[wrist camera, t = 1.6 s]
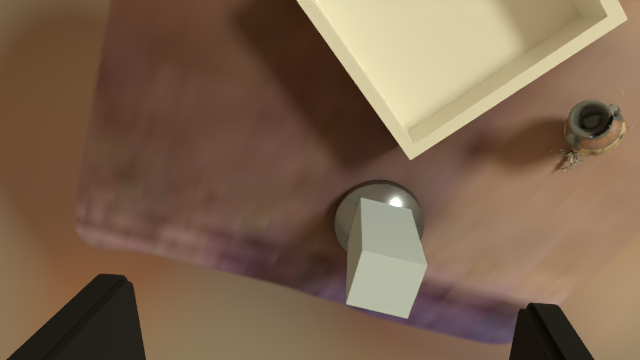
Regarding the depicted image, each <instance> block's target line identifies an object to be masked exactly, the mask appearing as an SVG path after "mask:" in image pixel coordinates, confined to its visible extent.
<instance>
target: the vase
mask: <svg viewBox="0 0 640 360" xmlns="http://www.w3.org/2000/svg"><path fill="white" fill-rule="evenodd" d="M613 86H614V85H613ZM621 94H622V93H621ZM623 95H624V92H623ZM551 96H552V95H551ZM620 112H621V111H620V108H619V107H618V106H617V105H615V104H610V105H607V104H606V103H604V102H601V101H599V100H586V101H583V102H581V103H579V104H577V105H576V106H575V107H574V108H573V109H572V110H571V112H570V113H569V117H568V118H567V120H566V122H565V126H564V137H565V140H566V142H567V143H568V145H569V146H570V147H571V148H572V149H573V151H574V153H572V151H571V152H570V153H568V154H567V155H566V156H568V159H567V160H568V161H567V162H566V163H568V162H569V163H571V165H570V167H565V166H564V167H565V168H560V169H562V170H563V171H565V170H566V169H570V168H571V167H573V166H574V165H577V164H579V163H580V162H578V163H577V160H578V159H579V157H577V155H579V156H581V157H586V156H587V157H588V156H598V155H602V154H605V153H608V152H610V151H611V150H613V149H614V148H616V147H617V146H618V145H619V143H620V142H621V140H622V139H623V136H624V133H625V130H626V129H625V123H624V120H623V118H622V116H621V115H620ZM627 127H628V126H627ZM632 127H633V126H632V125H631V126H630V127H629V128H632ZM629 128H628V129H629ZM537 139H538V138H537ZM567 149H568V148H567ZM549 150H550V149H549ZM562 150H566V149H560V150H559V151H562ZM551 152H552V150H551ZM560 154H561V153H560ZM564 154H565V153H564ZM554 155H555V154H554ZM566 156H564V157H566ZM573 156H576V161H575V162H572V158H573ZM554 157H555V156H554ZM580 161H583V160H580ZM558 162H559V161H558ZM561 163H565V162H561ZM572 171H573V170H572ZM573 177H574V176H573Z"/></svg>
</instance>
